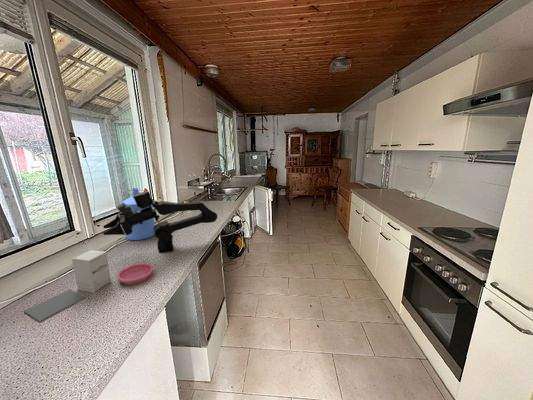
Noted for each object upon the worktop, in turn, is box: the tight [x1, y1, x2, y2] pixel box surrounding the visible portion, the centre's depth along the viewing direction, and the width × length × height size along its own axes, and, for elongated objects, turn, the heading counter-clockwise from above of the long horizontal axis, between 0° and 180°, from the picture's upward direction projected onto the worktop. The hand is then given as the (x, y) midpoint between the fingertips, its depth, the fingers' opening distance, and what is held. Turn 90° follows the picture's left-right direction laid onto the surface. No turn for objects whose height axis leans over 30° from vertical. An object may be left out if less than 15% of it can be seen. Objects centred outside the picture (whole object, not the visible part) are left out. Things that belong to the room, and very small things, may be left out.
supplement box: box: [71, 249, 112, 293], centre depth 83 cm, size 7×7×13 cm
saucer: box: [116, 263, 154, 286], centre depth 89 cm, size 12×12×3 cm
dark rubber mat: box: [23, 289, 87, 323], centre depth 74 cm, size 12×10×1 cm
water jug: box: [120, 188, 156, 241], centre depth 128 cm, size 16×16×28 cm
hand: (103, 230), depth 96 cm, fingers open, 9 cm apart
